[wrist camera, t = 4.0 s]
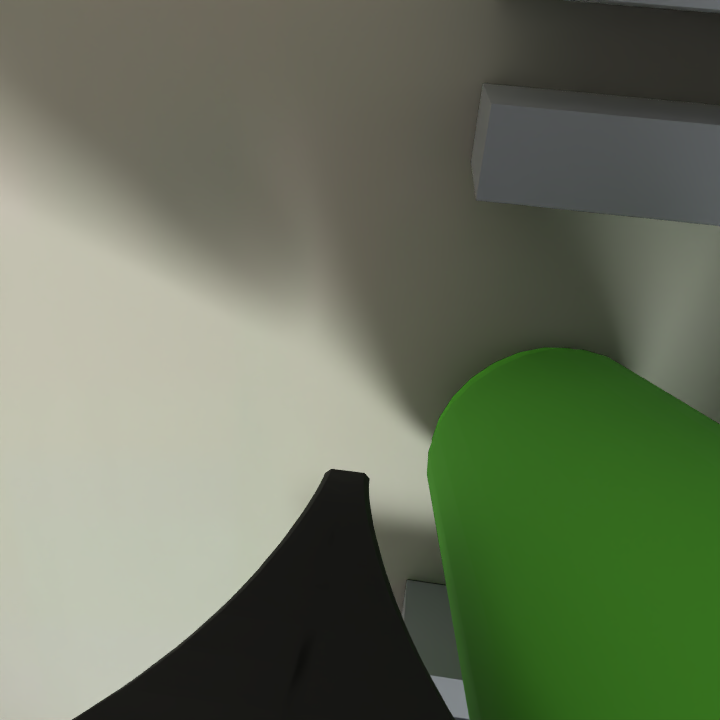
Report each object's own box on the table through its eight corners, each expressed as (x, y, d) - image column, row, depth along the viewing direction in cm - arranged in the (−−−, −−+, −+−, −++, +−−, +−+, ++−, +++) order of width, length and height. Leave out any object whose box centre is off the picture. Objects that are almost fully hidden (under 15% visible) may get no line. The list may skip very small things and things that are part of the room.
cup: (309, 300, 13) (551, 1184, 3) (742, 220, 14) (1908, 746, 4) (363, 608, 17) (529, 1351, 8) (684, 534, 18) (1181, 1124, 9)
